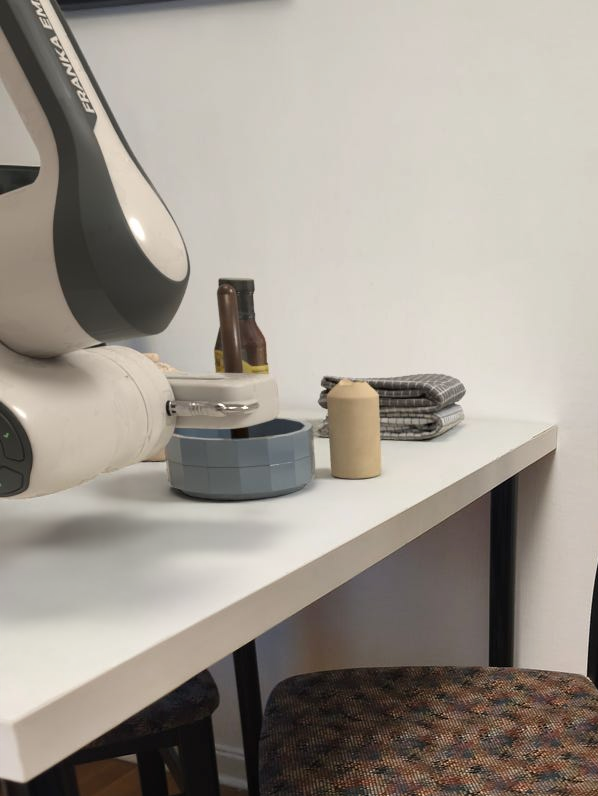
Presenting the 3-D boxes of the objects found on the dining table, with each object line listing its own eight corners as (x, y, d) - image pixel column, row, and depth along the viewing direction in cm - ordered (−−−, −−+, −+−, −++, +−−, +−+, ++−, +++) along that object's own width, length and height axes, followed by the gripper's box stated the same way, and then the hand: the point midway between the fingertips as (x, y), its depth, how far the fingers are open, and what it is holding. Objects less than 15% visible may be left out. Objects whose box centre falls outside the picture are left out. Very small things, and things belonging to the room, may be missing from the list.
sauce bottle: (213, 448, 111) (195, 277, 104) (258, 443, 115) (244, 277, 107) (238, 456, 107) (221, 278, 99) (284, 450, 111) (271, 278, 103)
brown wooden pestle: (209, 484, 90) (187, 284, 82) (223, 472, 95) (204, 283, 88) (265, 484, 90) (248, 284, 82) (276, 472, 95) (261, 283, 88)
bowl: (150, 502, 86) (142, 439, 83) (193, 470, 99) (187, 415, 97) (302, 502, 86) (298, 440, 84) (324, 471, 99) (321, 416, 97)
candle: (321, 473, 98) (315, 380, 94) (361, 466, 102) (357, 376, 98) (351, 481, 95) (346, 384, 91) (391, 474, 98) (388, 380, 94)
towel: (445, 442, 117) (444, 380, 114) (311, 437, 120) (307, 376, 116) (467, 424, 130) (467, 368, 127) (347, 420, 133) (344, 365, 130)
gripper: (237, 367, 65) (301, 351, 78) (-16, 361, 68) (85, 347, 81) (245, 453, 68) (306, 425, 80) (1, 444, 71) (96, 418, 83)
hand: (194, 386), depth 80 cm, fingers open, 8 cm apart
